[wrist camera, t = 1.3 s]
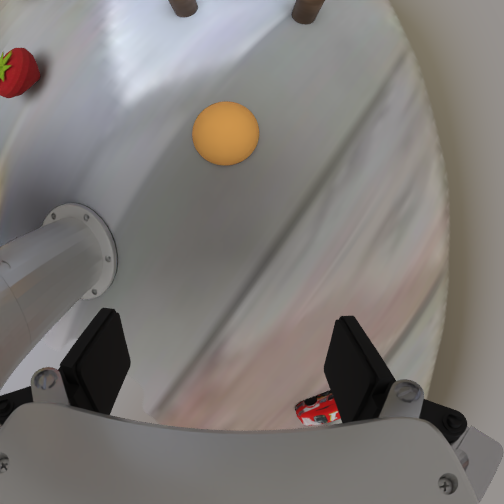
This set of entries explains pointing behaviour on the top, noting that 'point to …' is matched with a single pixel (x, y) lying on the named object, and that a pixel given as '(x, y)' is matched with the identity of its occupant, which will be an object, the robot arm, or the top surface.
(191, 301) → the top surface
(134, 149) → the top surface
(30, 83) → the strawberry
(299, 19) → the post
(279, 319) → the top surface
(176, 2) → the post
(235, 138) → the ball
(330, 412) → the race car
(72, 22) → the top surface
